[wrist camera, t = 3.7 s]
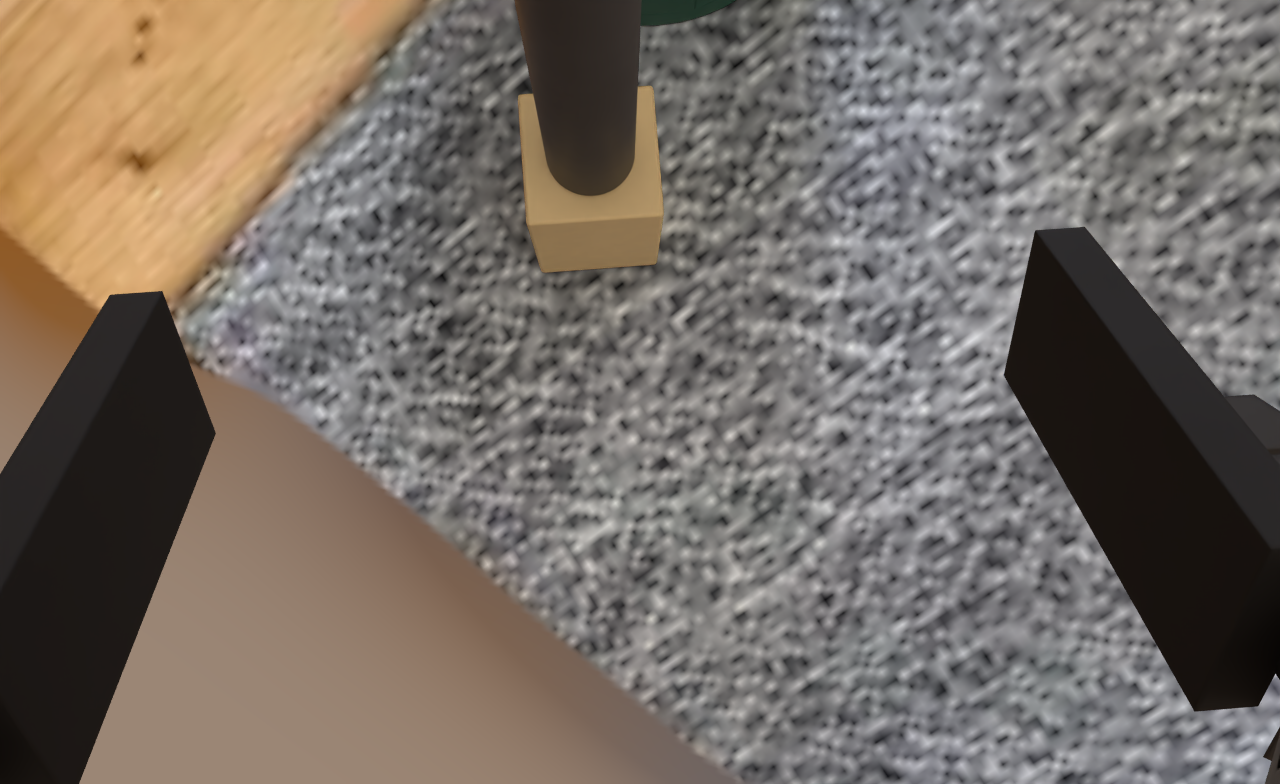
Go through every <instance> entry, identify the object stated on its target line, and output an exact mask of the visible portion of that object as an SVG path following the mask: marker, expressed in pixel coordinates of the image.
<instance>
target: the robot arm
mask: <svg viewBox="0 0 1280 784" xmlns="http://www.w3.org/2000/svg"><path fill="white" fill-rule="evenodd" d="M1004 376H1005V378H1006V380H1007V382H1008V384H1009V385H1010V387H1011V389H1012V391H1013V392H1014V394H1015V396H1016V398H1017V399H1018V401H1019V403H1020V405H1021V406H1022V408H1023V410H1024V412H1025V413H1026V415H1027V417H1028V419H1029V421H1030V422H1031V424H1032V426H1033V428H1034V429H1035V431H1036V433H1037V435H1038V436H1039V438H1040V440H1041V442H1042V443H1043V445H1044V447H1045V449H1046V450H1047V452H1048V454H1049V456H1050V458H1051V459H1052V461H1053V463H1054V465H1055V466H1056V468H1057V470H1058V472H1059V473H1060V475H1061V477H1062V479H1063V480H1064V482H1065V484H1066V486H1067V487H1068V489H1069V491H1070V493H1071V495H1072V496H1073V498H1074V500H1075V502H1076V503H1077V505H1078V507H1079V509H1080V510H1081V512H1082V514H1083V516H1084V517H1085V519H1086V521H1087V523H1088V524H1089V526H1090V528H1091V530H1092V532H1093V533H1094V535H1095V537H1096V539H1097V540H1098V542H1099V544H1100V546H1101V547H1102V549H1103V551H1104V553H1105V554H1106V556H1107V558H1108V560H1109V561H1110V563H1111V565H1112V567H1113V569H1114V570H1115V572H1116V574H1117V576H1118V577H1119V579H1120V581H1121V583H1122V584H1123V586H1124V588H1125V590H1126V591H1127V593H1128V595H1129V597H1130V599H1131V600H1132V602H1133V604H1134V606H1135V607H1136V609H1137V611H1138V613H1139V614H1140V616H1141V618H1142V620H1143V621H1144V623H1145V625H1146V627H1147V628H1148V630H1149V632H1150V634H1151V636H1152V637H1153V639H1154V641H1155V643H1156V644H1157V646H1158V648H1159V650H1160V651H1161V653H1162V655H1163V657H1164V658H1165V660H1166V662H1167V664H1168V665H1169V667H1170V669H1171V671H1172V673H1173V674H1174V676H1175V678H1176V680H1177V681H1178V683H1179V685H1180V687H1181V688H1182V690H1183V692H1184V694H1185V695H1186V697H1187V699H1188V701H1189V702H1190V704H1191V706H1192V708H1193V710H1194V711H1207V710H1219V709H1231V708H1243V707H1255V706H1259V704H1260V702H1261V700H1262V698H1263V696H1264V694H1265V692H1266V690H1267V689H1268V687H1269V685H1270V683H1271V681H1272V679H1273V677H1274V675H1275V673H1276V675H1277V676H1278V678H1279V679H1280V411H1279V410H1277V409H1276V408H1274V407H1273V406H1271V405H1269V404H1268V403H1266V402H1265V401H1263V400H1262V399H1260V398H1258V397H1257V396H1255V395H1241V396H1227V397H1224V396H1223V395H1222V394H1221V392H1220V391H1219V390H1218V389H1217V387H1216V386H1215V385H1214V384H1213V383H1212V381H1211V380H1210V379H1209V378H1208V377H1207V375H1206V374H1205V373H1204V372H1203V370H1202V369H1201V368H1200V367H1199V366H1198V364H1197V363H1196V362H1195V361H1194V359H1193V358H1192V357H1191V356H1190V355H1189V353H1188V352H1187V351H1186V350H1185V348H1184V347H1183V346H1182V345H1181V344H1180V342H1179V341H1178V340H1177V339H1176V338H1175V336H1174V335H1173V334H1172V333H1171V331H1170V330H1169V329H1168V328H1167V327H1166V325H1165V324H1164V323H1163V322H1162V320H1161V319H1160V318H1159V317H1158V316H1157V314H1156V313H1155V312H1154V311H1153V310H1152V308H1151V307H1150V306H1149V305H1148V303H1147V302H1146V301H1145V300H1144V299H1143V297H1142V296H1141V295H1140V294H1139V292H1138V291H1137V290H1136V289H1135V288H1134V286H1133V285H1132V284H1131V283H1130V282H1129V280H1128V279H1127V278H1126V277H1125V275H1124V274H1123V273H1122V272H1121V271H1120V269H1119V268H1118V267H1117V266H1116V264H1115V263H1114V262H1113V261H1112V260H1111V258H1110V257H1109V256H1108V255H1107V254H1106V252H1105V251H1104V250H1103V249H1102V247H1101V246H1100V245H1099V244H1098V243H1097V241H1096V240H1095V239H1094V238H1093V236H1092V235H1091V234H1090V233H1089V232H1088V230H1087V229H1086V228H1085V227H1079V228H1064V229H1050V230H1036V231H1035V233H1034V238H1033V243H1032V247H1031V252H1030V257H1029V261H1028V266H1027V271H1026V275H1025V280H1024V284H1023V289H1022V294H1021V298H1020V303H1019V308H1018V312H1017V317H1016V322H1015V326H1014V331H1013V335H1012V340H1011V345H1010V349H1009V354H1008V359H1007V363H1006V368H1005V373H1004ZM215 434H216V433H215V430H214V427H213V425H212V422H211V419H210V417H209V414H208V411H207V409H206V406H205V403H204V401H203V398H202V396H201V393H200V390H199V388H198V385H197V382H196V380H195V377H194V374H193V372H192V369H191V366H190V364H189V361H188V358H187V356H186V353H185V350H184V348H183V345H182V342H181V340H180V337H179V334H178V332H177V329H176V326H175V324H174V321H173V318H172V316H171V313H170V310H169V308H168V305H167V302H166V300H165V297H164V295H163V292H162V291H158V292H144V293H130V294H115V295H110V296H109V297H108V299H107V301H106V302H105V304H104V306H103V307H102V309H101V310H100V312H99V314H98V315H97V317H96V319H95V320H94V322H93V324H92V325H91V327H90V328H89V330H88V332H87V334H86V335H85V337H84V338H83V340H82V341H81V343H80V345H79V346H78V348H77V350H76V351H75V353H74V355H73V356H72V358H71V360H70V361H69V363H68V364H67V366H66V368H65V369H64V371H63V373H62V374H61V376H60V378H59V379H58V381H57V382H56V384H55V386H54V387H53V389H52V390H51V392H50V394H49V395H48V397H47V399H46V400H45V402H44V404H43V405H42V407H41V408H40V410H39V412H38V413H37V415H36V417H35V418H34V420H33V421H32V423H31V425H30V427H29V428H28V430H27V432H26V433H25V435H24V436H23V438H22V439H21V441H20V443H19V444H18V446H17V448H16V449H15V451H14V453H13V454H12V456H11V457H10V459H9V461H8V462H7V464H6V466H5V467H4V469H3V471H2V472H1V474H0V784H79V782H80V780H81V777H82V774H83V772H84V769H85V767H86V764H87V762H88V759H89V757H90V754H91V751H92V749H93V746H94V744H95V741H96V739H97V736H98V734H99V731H100V728H101V726H102V723H103V721H104V718H105V716H106V713H107V710H108V708H109V705H110V703H111V700H112V698H113V695H114V692H115V690H116V687H117V685H118V682H119V680H120V677H121V674H122V672H123V669H124V667H125V664H126V662H127V659H128V657H129V654H130V652H131V649H132V646H133V644H134V641H135V639H136V636H137V634H138V631H139V629H140V626H141V623H142V621H143V618H144V616H145V613H146V611H147V608H148V605H149V603H150V600H151V598H152V595H153V592H154V590H155V588H156V585H157V582H158V580H159V577H160V575H161V572H162V570H163V567H164V564H165V562H166V559H167V556H168V554H169V552H170V549H171V546H172V544H173V541H174V539H175V536H176V534H177V531H178V529H179V526H180V524H181V521H182V518H183V516H184V513H185V511H186V508H187V506H188V503H189V500H190V498H191V495H192V493H193V490H194V487H195V485H196V482H197V480H198V477H199V475H200V472H201V470H202V467H203V465H204V462H205V459H206V457H207V454H208V452H209V449H210V447H211V444H212V441H213V439H214V436H215ZM1263 757H1264V758H1267V759H1269V760H1271V761H1272V762H1271V765H1270V768H1269V772H1268V775H1267V778H1266V782H1265V784H1280V728H1279V729H1278V731H1277V733H1276V735H1275V737H1274V738H1273V740H1272V742H1271V744H1270V746H1269V747H1268V749H1267V751H1266V753H1265V754H1264V756H1263Z"/></svg>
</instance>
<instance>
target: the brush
mask: <svg viewBox="0 0 1280 784" xmlns="http://www.w3.org/2000/svg"><path fill="white" fill-rule="evenodd" d="M514 1H515V6H516V11H517V16H518V21H519V26H520V31H521V36H522V41H523V46H524V51H525V56H526V61H527V66H528V71H529V76H530V81H531V86H532V91H533V94H521V95H519V97H518V108H519V122H520V137H521V152H522V167H523V181H524V196H525V211H526V223H527V227H528V230H529V233H530V236H531V240H532V243H533V246H534V249H535V253H536V256H537V259H538V262H539V266H540V269H541V271H542V272H544V273H546V272H560V271H573V270H587V269H601V268H615V267H628V266H642V265H654V264H656V262H657V257H658V250H659V243H660V236H661V230H662V223H663V216H664V208H663V196H662V184H661V173H660V161H659V149H658V137H657V125H656V114H655V102H654V90H653V88H652V86H638V71H639V48H640V25H641V3H642V0H514Z"/></svg>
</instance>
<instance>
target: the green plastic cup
mask: <svg viewBox="0 0 1280 784" xmlns="http://www.w3.org/2000/svg"><path fill="white" fill-rule="evenodd" d="M734 1H736V0H642V3H641V25H640V26H646V25H664V24H671V23H678V22H683V21H687V20H690V19H694V18H698V17H701V16H704V15H707V14H709V13H711V12H714V11H716V10H719V9H721V8H723V7H725V6H727V5H729V4H730V3H732V2H734Z"/></svg>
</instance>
